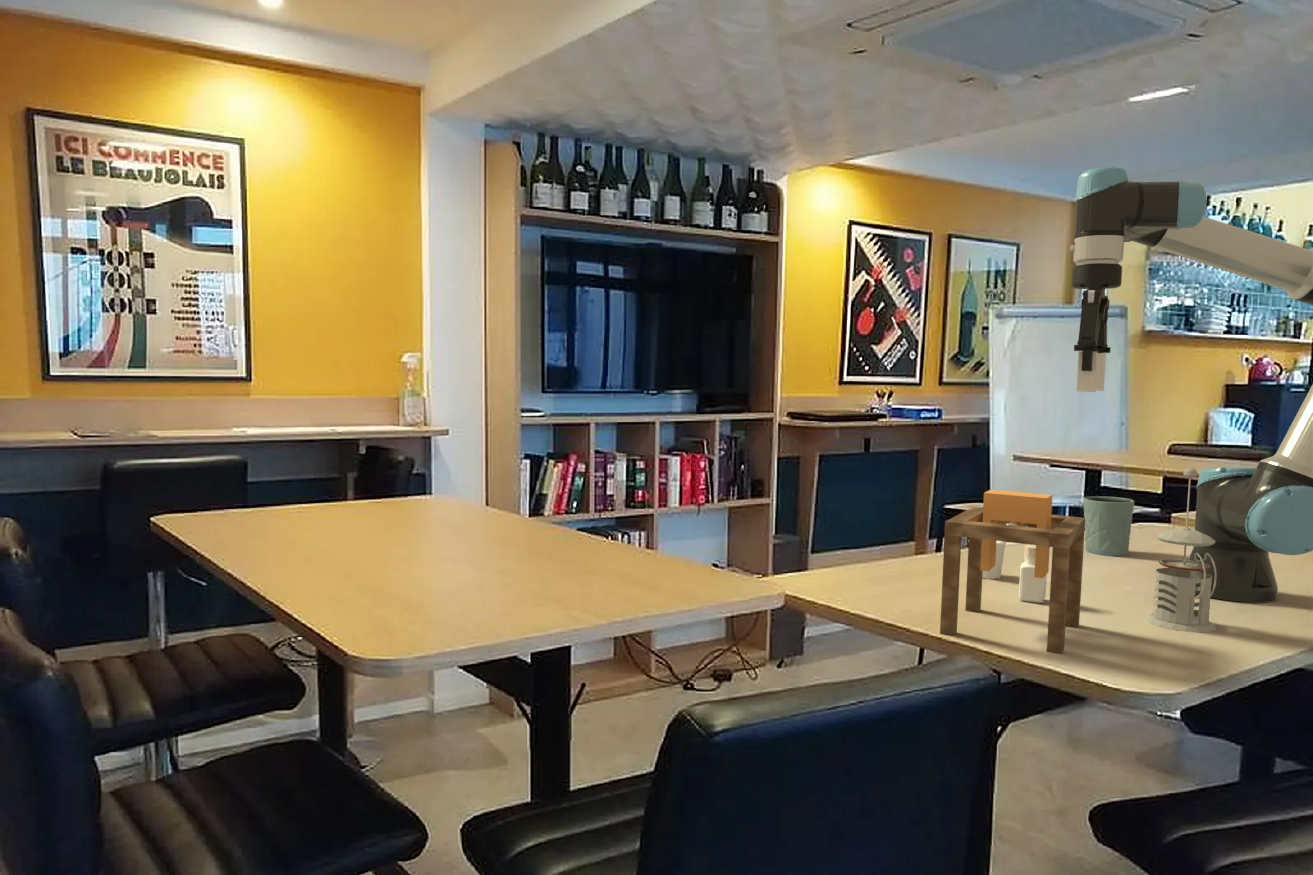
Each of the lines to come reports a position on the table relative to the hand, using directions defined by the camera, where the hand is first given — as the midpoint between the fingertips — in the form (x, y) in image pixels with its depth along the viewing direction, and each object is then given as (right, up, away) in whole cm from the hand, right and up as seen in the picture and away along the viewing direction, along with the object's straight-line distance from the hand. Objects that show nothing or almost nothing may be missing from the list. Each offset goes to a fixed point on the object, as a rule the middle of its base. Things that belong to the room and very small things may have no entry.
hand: (1090, 391), depth 155 cm
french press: (+10, -38, -9) cm, 40 cm away
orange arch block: (-19, -28, -15) cm, 37 cm away
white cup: (-10, -35, +23) cm, 43 cm away
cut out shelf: (-19, -37, -14) cm, 44 cm away
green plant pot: (+26, -34, +49) cm, 65 cm away
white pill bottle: (-8, -36, +4) cm, 38 cm away
